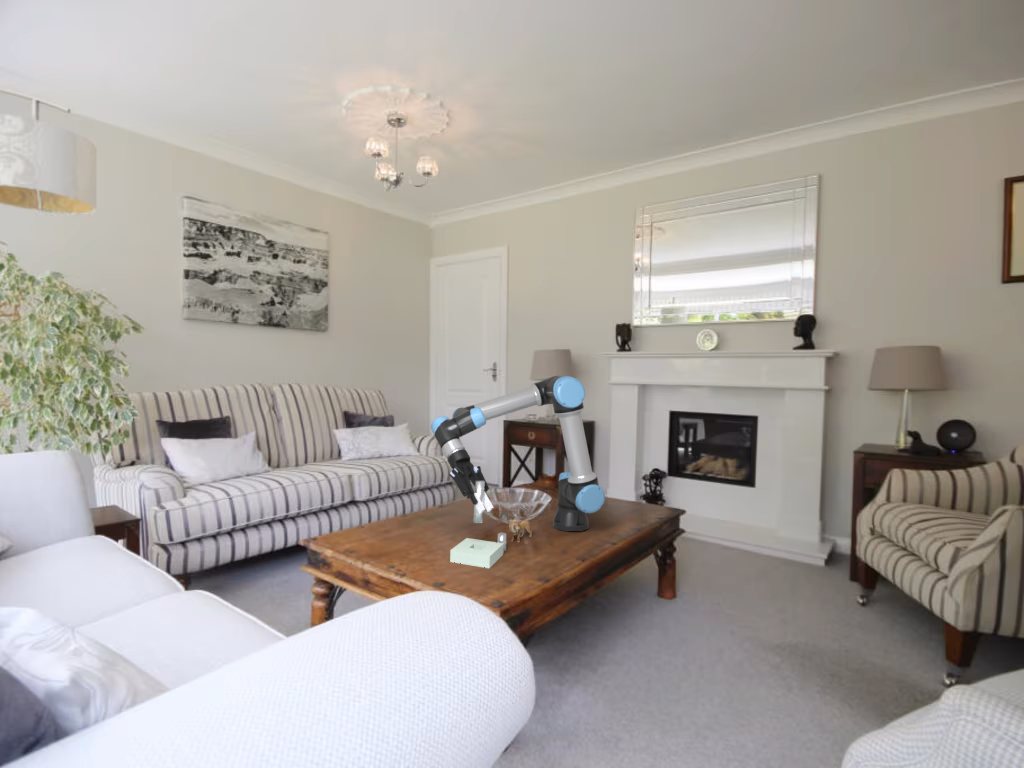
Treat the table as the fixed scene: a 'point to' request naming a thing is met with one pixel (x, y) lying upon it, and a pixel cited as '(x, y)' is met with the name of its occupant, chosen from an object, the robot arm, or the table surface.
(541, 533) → the table surface
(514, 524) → the lion figurine
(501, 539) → the short peg
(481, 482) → the tall peg
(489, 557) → the socket block
